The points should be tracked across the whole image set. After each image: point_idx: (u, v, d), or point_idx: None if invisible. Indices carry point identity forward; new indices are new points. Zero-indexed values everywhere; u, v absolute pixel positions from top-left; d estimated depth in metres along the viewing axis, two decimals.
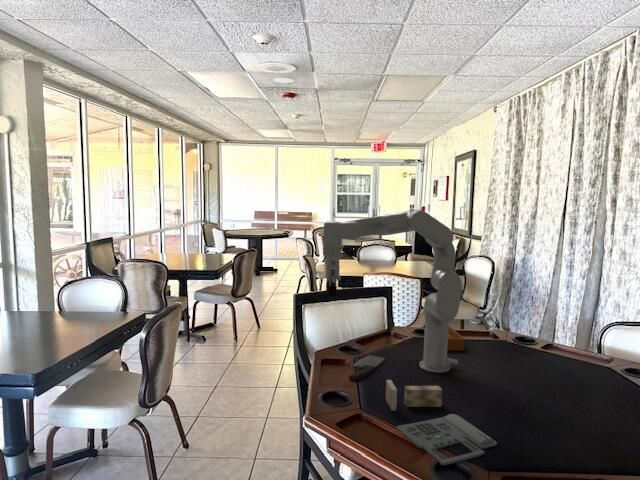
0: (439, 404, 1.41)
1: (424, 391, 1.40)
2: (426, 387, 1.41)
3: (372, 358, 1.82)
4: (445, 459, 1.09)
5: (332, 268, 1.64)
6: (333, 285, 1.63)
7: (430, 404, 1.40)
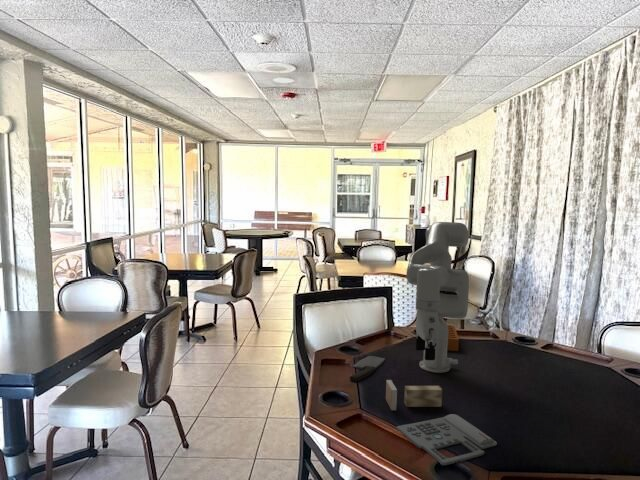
0: (439, 404, 1.41)
1: (424, 391, 1.40)
2: (426, 387, 1.41)
3: (372, 359, 1.82)
4: (445, 459, 1.09)
5: (430, 326, 1.35)
6: (432, 348, 1.34)
7: (430, 404, 1.40)
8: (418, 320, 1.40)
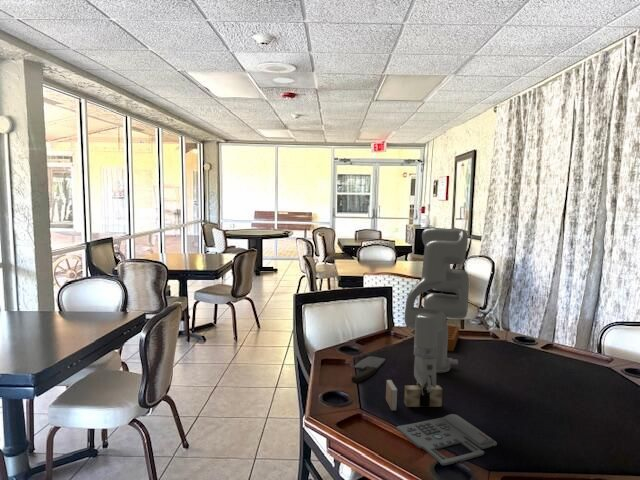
0: (439, 404, 1.40)
1: None
2: None
3: (373, 359, 1.81)
4: (445, 459, 1.09)
5: (428, 373, 1.36)
6: (426, 395, 1.38)
7: (430, 404, 1.40)
8: (416, 365, 1.41)
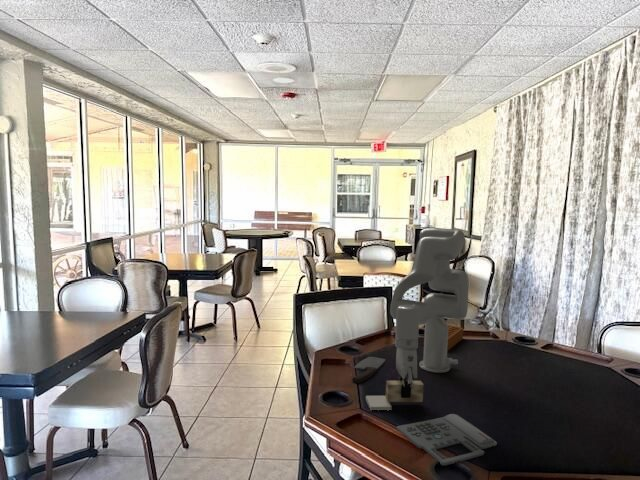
0: (421, 399, 1.40)
1: None
2: None
3: (373, 360, 1.81)
4: (445, 459, 1.09)
5: (408, 365, 1.35)
6: (407, 387, 1.38)
7: (411, 399, 1.40)
8: (397, 357, 1.41)
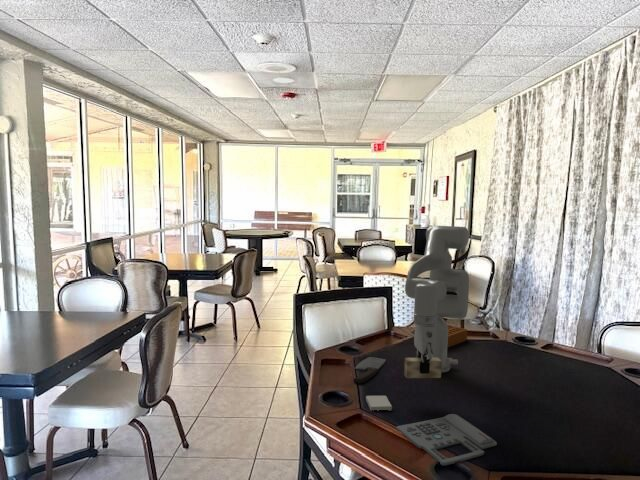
0: (439, 375, 1.43)
1: None
2: None
3: (373, 360, 1.80)
4: (445, 459, 1.09)
5: (427, 341, 1.38)
6: (426, 363, 1.41)
7: (430, 375, 1.43)
8: (416, 334, 1.44)
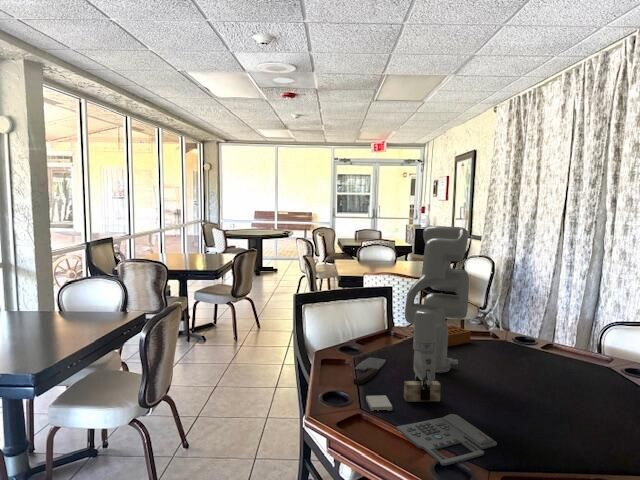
0: (438, 399, 1.45)
1: None
2: (425, 383, 1.45)
3: (373, 360, 1.80)
4: (445, 459, 1.09)
5: (427, 367, 1.40)
6: (427, 389, 1.41)
7: None
8: (415, 360, 1.46)
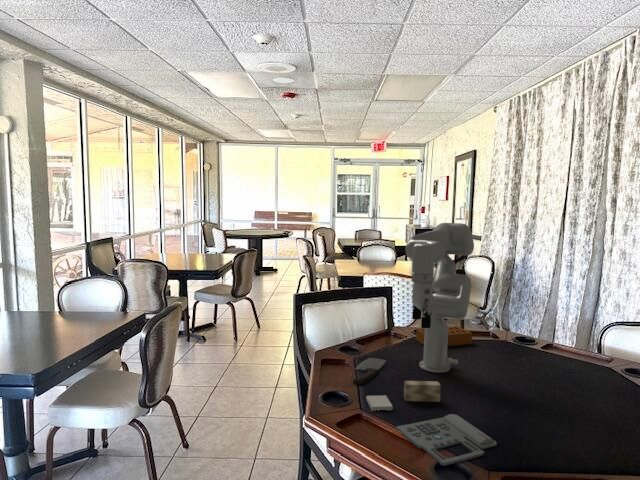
0: (438, 399, 1.44)
1: (422, 386, 1.44)
2: (425, 383, 1.45)
3: (374, 361, 1.80)
4: (445, 459, 1.09)
5: (425, 297, 1.45)
6: (428, 316, 1.45)
7: (429, 399, 1.44)
8: (414, 292, 1.51)
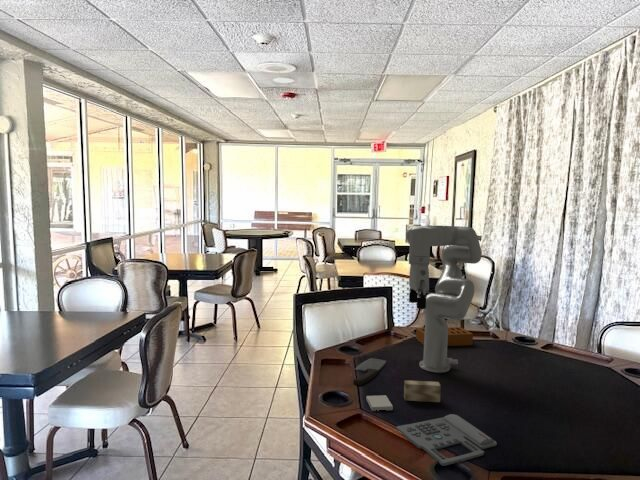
0: (438, 400, 1.44)
1: (422, 385, 1.44)
2: (425, 383, 1.45)
3: (374, 361, 1.79)
4: (445, 459, 1.09)
5: (421, 278, 1.51)
6: (423, 297, 1.50)
7: (428, 399, 1.44)
8: (411, 274, 1.56)
